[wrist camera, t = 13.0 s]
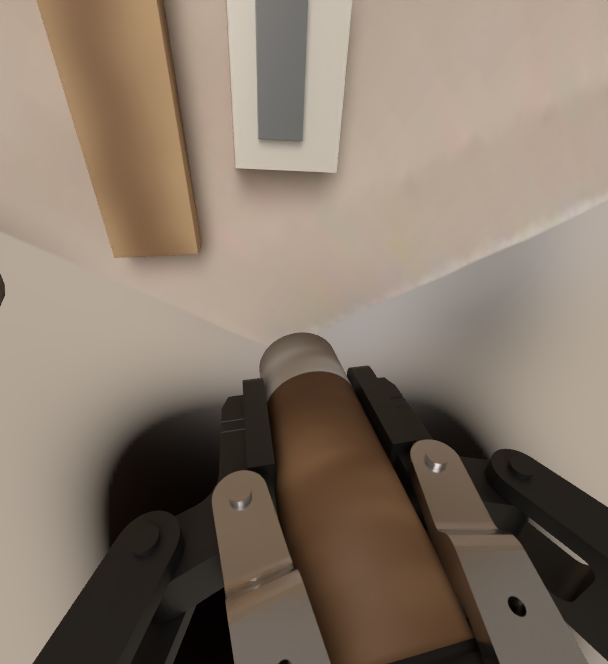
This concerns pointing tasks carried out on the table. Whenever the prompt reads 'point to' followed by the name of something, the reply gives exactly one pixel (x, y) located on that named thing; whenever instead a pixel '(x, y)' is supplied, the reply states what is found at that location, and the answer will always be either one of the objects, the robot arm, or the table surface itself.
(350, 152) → the table surface
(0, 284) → the decorative mushroom
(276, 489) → the brown cylinder
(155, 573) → the robot arm
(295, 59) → the block
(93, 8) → the batten
